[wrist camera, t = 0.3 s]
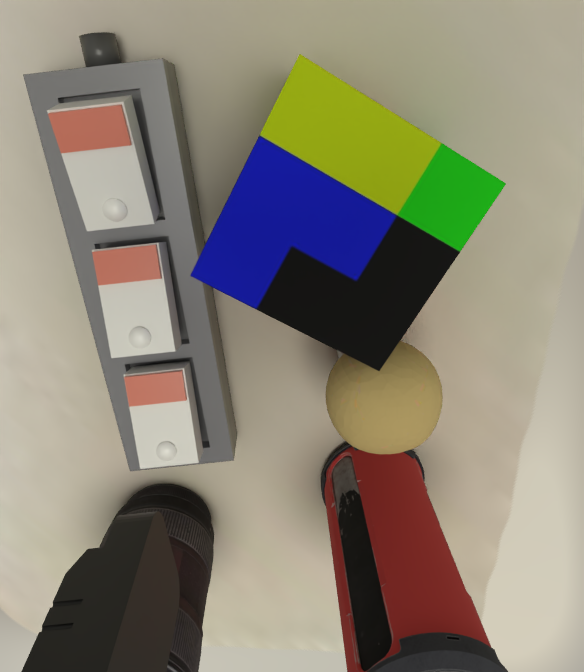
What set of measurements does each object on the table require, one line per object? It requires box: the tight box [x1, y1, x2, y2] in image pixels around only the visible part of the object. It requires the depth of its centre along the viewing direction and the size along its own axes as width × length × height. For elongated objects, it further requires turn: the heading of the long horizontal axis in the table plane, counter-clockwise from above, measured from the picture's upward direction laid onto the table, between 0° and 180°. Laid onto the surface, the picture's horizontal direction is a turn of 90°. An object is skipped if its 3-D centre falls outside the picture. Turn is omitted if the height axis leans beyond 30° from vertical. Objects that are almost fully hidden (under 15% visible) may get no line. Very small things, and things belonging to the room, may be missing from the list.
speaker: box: [321, 443, 508, 672], centre depth 32 cm, size 8×8×18 cm
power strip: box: [23, 33, 237, 471], centre depth 32 cm, size 26×7×3 cm, turn 6°
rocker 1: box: [47, 95, 160, 231], centre depth 27 cm, size 6×4×2 cm, turn 6°
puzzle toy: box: [190, 55, 506, 371], centre depth 28 cm, size 10×10×10 cm
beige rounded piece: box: [326, 341, 442, 454], centre depth 31 cm, size 6×6×10 cm
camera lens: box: [100, 484, 214, 672], centre depth 34 cm, size 8×8×15 cm
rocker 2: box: [92, 242, 182, 358], centre depth 30 cm, size 6×4×2 cm, turn 6°
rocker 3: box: [124, 361, 203, 469], centre depth 32 cm, size 6×4×2 cm, turn 6°
